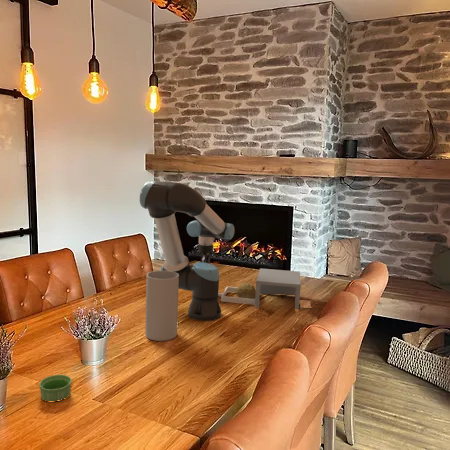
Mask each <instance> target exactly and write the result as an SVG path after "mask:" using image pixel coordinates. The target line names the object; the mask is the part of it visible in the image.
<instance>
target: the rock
mask: <svg viewBox="0 0 450 450" xmlns="http://www.w3.org/2000/svg"><path fill="white" fill-rule="evenodd" d="M255 289H256V287H255V285H253V284H252V283H249V282H245V283H240V284H239V285H238V286H237V292H236V294H237V298H248V299H255V293H256V290H255Z"/></svg>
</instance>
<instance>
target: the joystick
mask: <svg viewBox="0 0 450 450" xmlns="http://www.w3.org/2000/svg"><path fill="white" fill-rule="evenodd" d="M237 288H238V286H237V287H236V286H226V287H225V289H224V290H223V292H218V297H220V302H221V303H222V302H223V303H233V304H234V303H236V304H243V305H244V304H245V305H246V304H247V305H254V306H255V299H248V298H238V296H237V297H234V296H226V295H227V293H228V292H229V293H237ZM255 290H256V288H255Z"/></svg>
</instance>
